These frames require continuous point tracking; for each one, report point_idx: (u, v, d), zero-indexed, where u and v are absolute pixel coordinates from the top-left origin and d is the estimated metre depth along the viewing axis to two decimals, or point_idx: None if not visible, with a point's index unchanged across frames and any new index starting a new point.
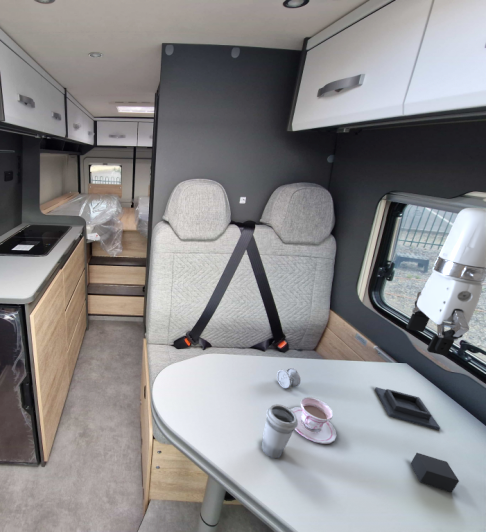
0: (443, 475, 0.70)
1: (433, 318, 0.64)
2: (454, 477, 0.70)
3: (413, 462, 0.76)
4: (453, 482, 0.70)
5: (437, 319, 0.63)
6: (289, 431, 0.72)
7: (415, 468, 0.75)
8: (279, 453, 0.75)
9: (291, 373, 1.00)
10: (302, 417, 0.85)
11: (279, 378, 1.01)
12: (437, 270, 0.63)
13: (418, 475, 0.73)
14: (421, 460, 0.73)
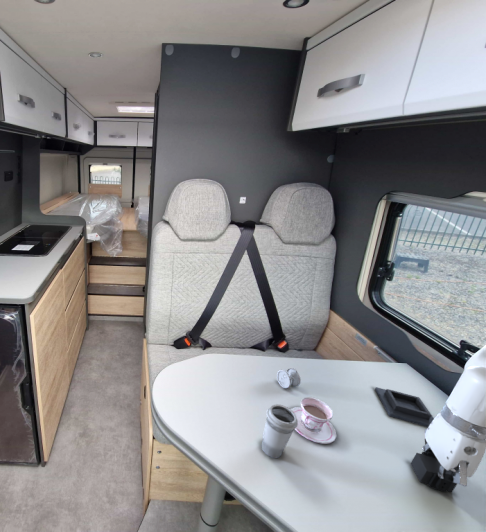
0: None
1: (441, 461, 0.69)
2: None
3: (413, 462, 0.76)
4: (453, 482, 0.70)
5: (444, 465, 0.68)
6: (289, 431, 0.72)
7: (415, 468, 0.75)
8: (279, 453, 0.75)
9: (291, 373, 1.00)
10: (302, 417, 0.85)
11: (279, 378, 1.01)
12: (444, 418, 0.68)
13: (418, 475, 0.73)
14: (421, 460, 0.73)
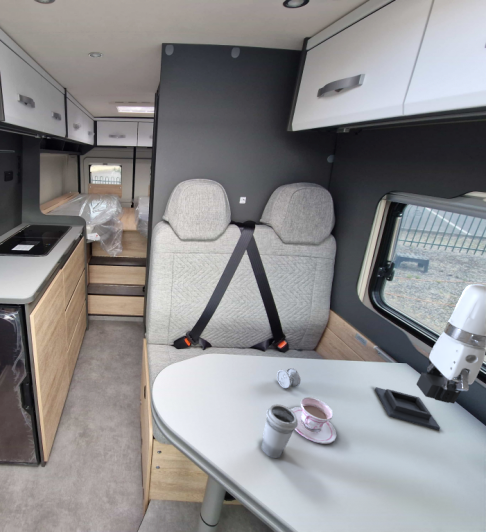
0: None
1: (444, 373, 0.76)
2: None
3: (419, 382, 0.83)
4: (455, 393, 0.77)
5: (448, 375, 0.75)
6: (289, 431, 0.72)
7: (421, 386, 0.82)
8: (279, 453, 0.75)
9: (291, 373, 1.00)
10: (302, 417, 0.85)
11: (279, 378, 1.01)
12: (448, 334, 0.76)
13: (424, 391, 0.81)
14: (426, 377, 0.81)
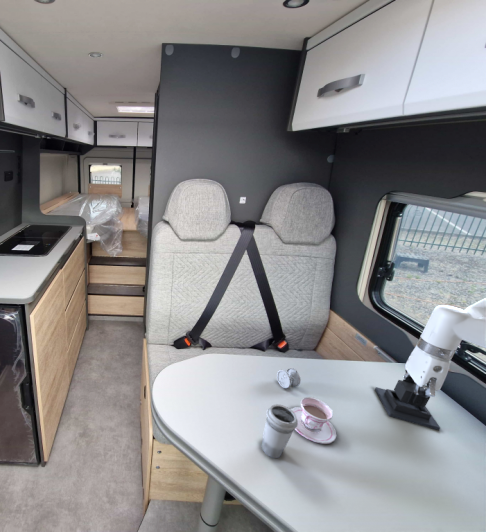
0: None
1: (416, 381, 0.88)
2: None
3: (396, 387, 0.95)
4: (425, 398, 0.89)
5: (419, 383, 0.87)
6: (289, 431, 0.72)
7: (397, 391, 0.94)
8: (279, 453, 0.75)
9: (291, 373, 1.00)
10: (302, 417, 0.85)
11: (279, 378, 1.01)
12: (419, 347, 0.87)
13: (399, 396, 0.93)
14: (402, 384, 0.93)
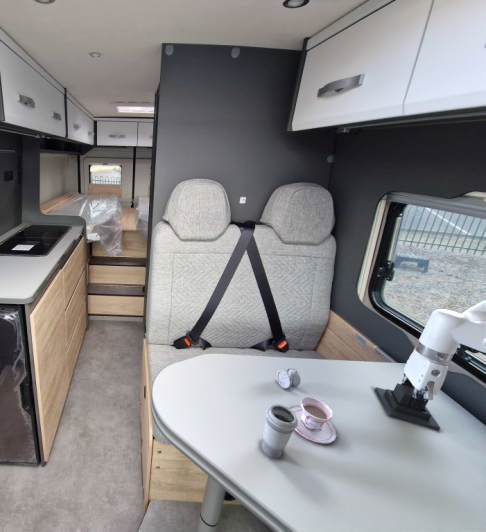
0: None
1: (414, 385, 0.89)
2: None
3: (394, 391, 0.96)
4: (424, 402, 0.90)
5: (417, 386, 0.88)
6: (289, 431, 0.72)
7: (396, 395, 0.95)
8: (279, 453, 0.75)
9: (291, 373, 1.00)
10: (302, 417, 0.85)
11: (279, 378, 1.01)
12: (417, 351, 0.88)
13: (398, 399, 0.93)
14: (400, 388, 0.93)
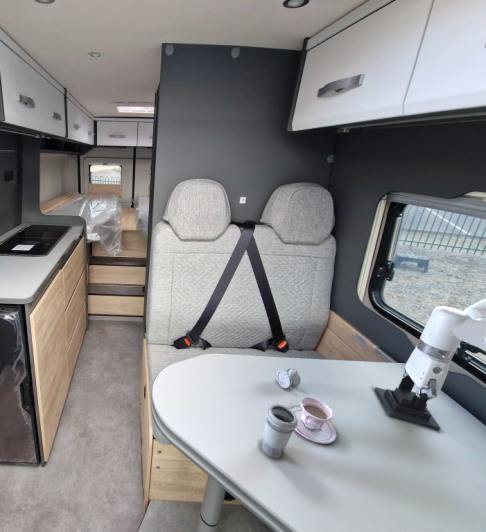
0: None
1: (416, 383, 0.88)
2: None
3: (393, 395, 0.96)
4: None
5: (419, 384, 0.87)
6: (289, 431, 0.72)
7: (395, 399, 0.95)
8: (279, 453, 0.75)
9: (291, 373, 1.00)
10: (302, 417, 0.85)
11: (279, 378, 1.01)
12: (419, 348, 0.88)
13: None
14: (399, 392, 0.94)
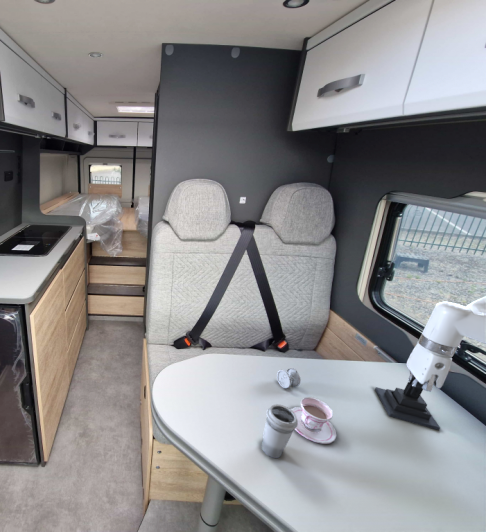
0: (415, 401, 0.91)
1: (418, 378, 0.88)
2: (423, 402, 0.90)
3: (393, 395, 0.96)
4: (423, 406, 0.90)
5: (420, 380, 0.87)
6: (289, 431, 0.72)
7: (395, 399, 0.95)
8: (279, 453, 0.75)
9: (291, 373, 1.00)
10: (302, 417, 0.85)
11: (279, 378, 1.01)
12: (421, 344, 0.87)
13: None
14: (399, 392, 0.94)
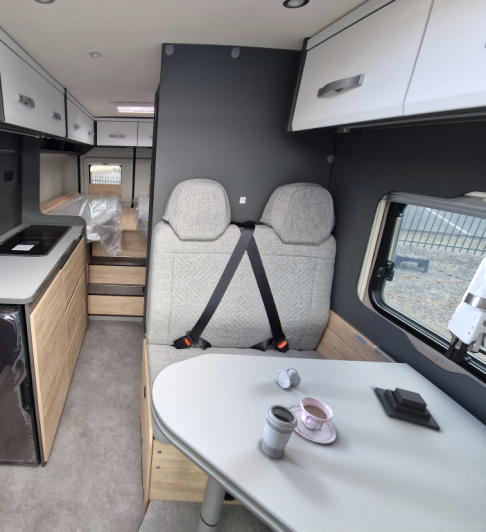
0: (415, 401, 0.91)
1: (463, 339, 0.83)
2: (423, 402, 0.90)
3: (393, 395, 0.96)
4: (423, 406, 0.90)
5: (466, 340, 0.82)
6: (289, 431, 0.72)
7: (395, 399, 0.95)
8: (279, 453, 0.75)
9: (291, 373, 1.00)
10: (302, 417, 0.85)
11: (279, 378, 1.01)
12: (466, 302, 0.82)
13: None
14: (399, 392, 0.94)
